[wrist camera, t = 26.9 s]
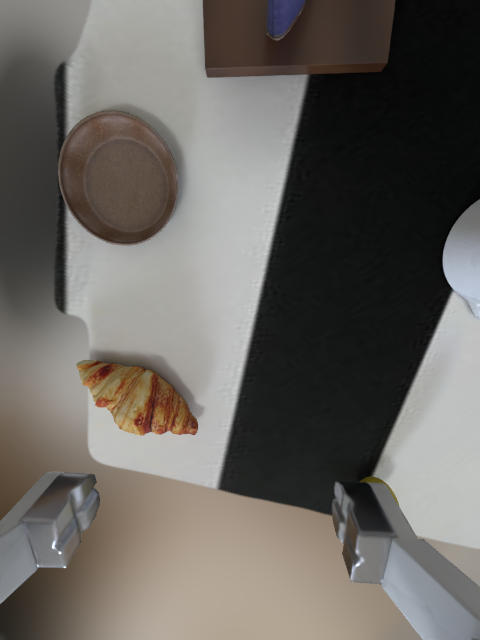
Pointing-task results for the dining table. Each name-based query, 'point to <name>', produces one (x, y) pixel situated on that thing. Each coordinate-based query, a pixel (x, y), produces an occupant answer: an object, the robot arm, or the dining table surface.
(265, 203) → the dining table surface
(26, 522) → the robot arm
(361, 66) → the cutting board
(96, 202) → the saucer
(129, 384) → the croissant
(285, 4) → the flask
